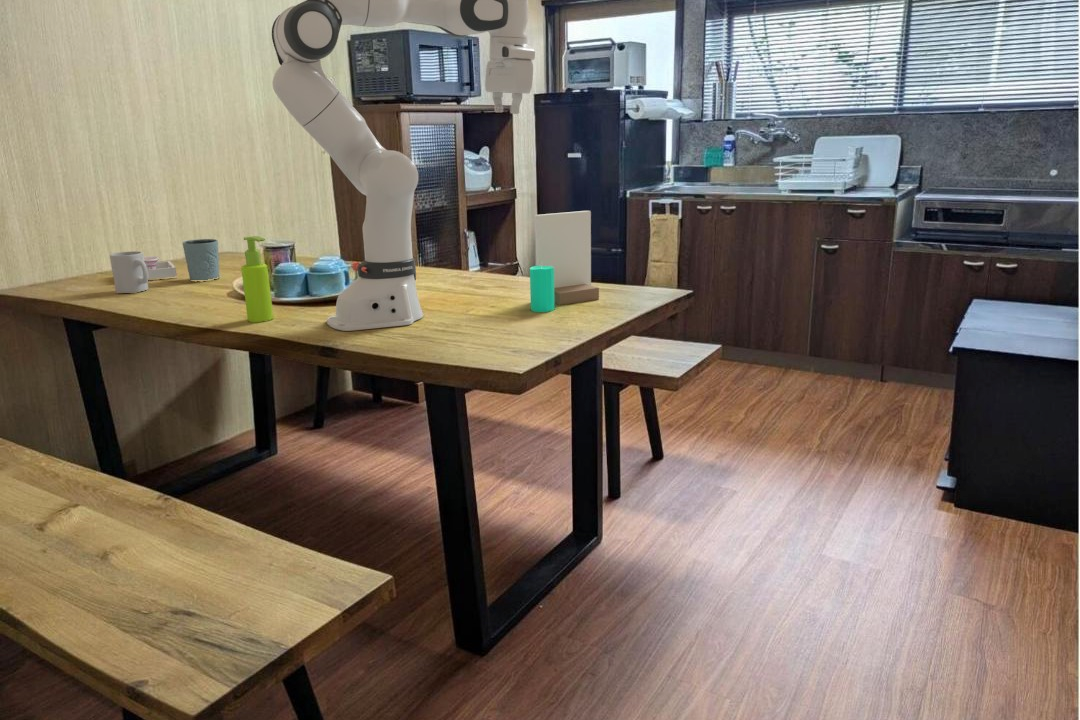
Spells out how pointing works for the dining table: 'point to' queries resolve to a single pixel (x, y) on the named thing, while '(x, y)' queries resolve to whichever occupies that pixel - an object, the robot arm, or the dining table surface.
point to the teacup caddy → (162, 270)
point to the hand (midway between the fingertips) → (506, 113)
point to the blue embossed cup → (202, 258)
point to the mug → (129, 272)
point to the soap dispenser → (256, 284)
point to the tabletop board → (566, 254)
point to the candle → (542, 288)
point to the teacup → (151, 262)
